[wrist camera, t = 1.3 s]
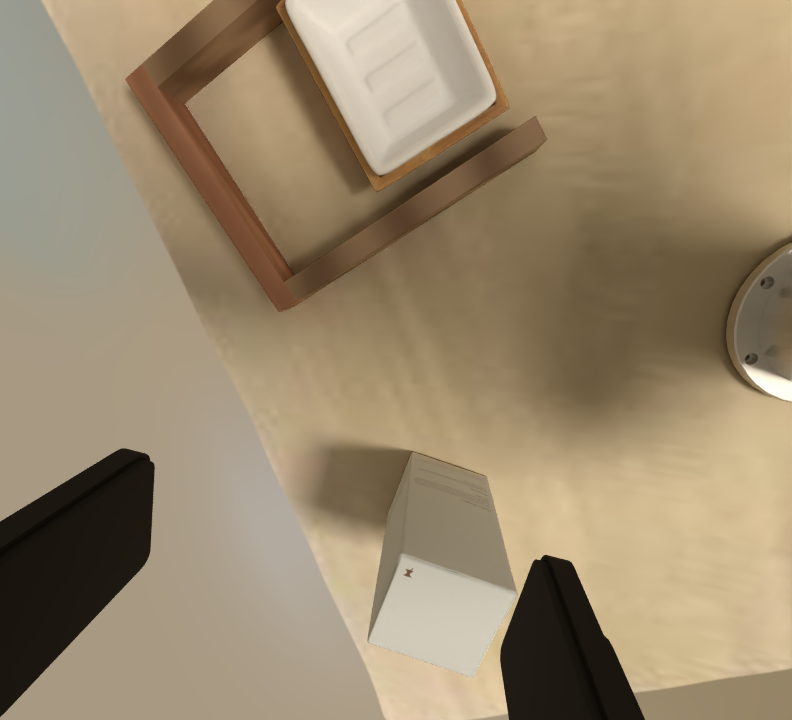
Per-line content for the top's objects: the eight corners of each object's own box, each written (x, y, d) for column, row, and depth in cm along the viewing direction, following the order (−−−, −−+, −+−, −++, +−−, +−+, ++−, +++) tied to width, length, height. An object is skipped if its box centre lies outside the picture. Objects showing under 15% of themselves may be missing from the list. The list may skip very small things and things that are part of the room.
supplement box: (385, 516, 37) (361, 643, 25) (411, 448, 35) (399, 551, 23) (460, 542, 37) (472, 683, 25) (491, 476, 35) (521, 595, 23)
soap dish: (294, 37, 28) (264, -9, 23) (416, -57, 26) (412, -129, 21) (383, 200, 30) (373, 190, 25) (501, 125, 28) (515, 98, 23)
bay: (406, -235, 24) (384, -614, 13) (575, 125, 28) (660, 48, 17) (115, 35, 29) (-62, -87, 18) (292, 307, 33) (227, 330, 22)
